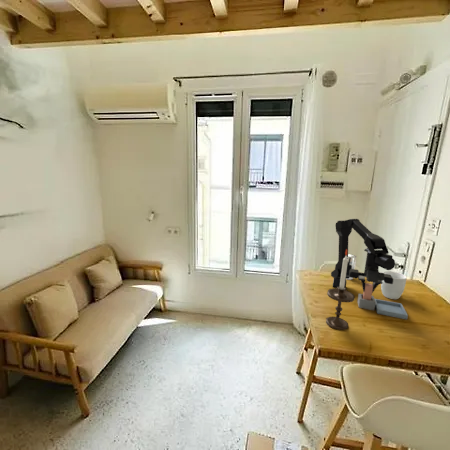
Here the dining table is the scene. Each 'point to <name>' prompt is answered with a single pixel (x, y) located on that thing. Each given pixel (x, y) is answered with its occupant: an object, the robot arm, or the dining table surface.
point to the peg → (368, 291)
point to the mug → (394, 285)
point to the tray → (390, 309)
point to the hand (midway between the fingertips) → (367, 292)
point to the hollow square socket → (366, 302)
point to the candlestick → (340, 299)
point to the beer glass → (351, 262)
